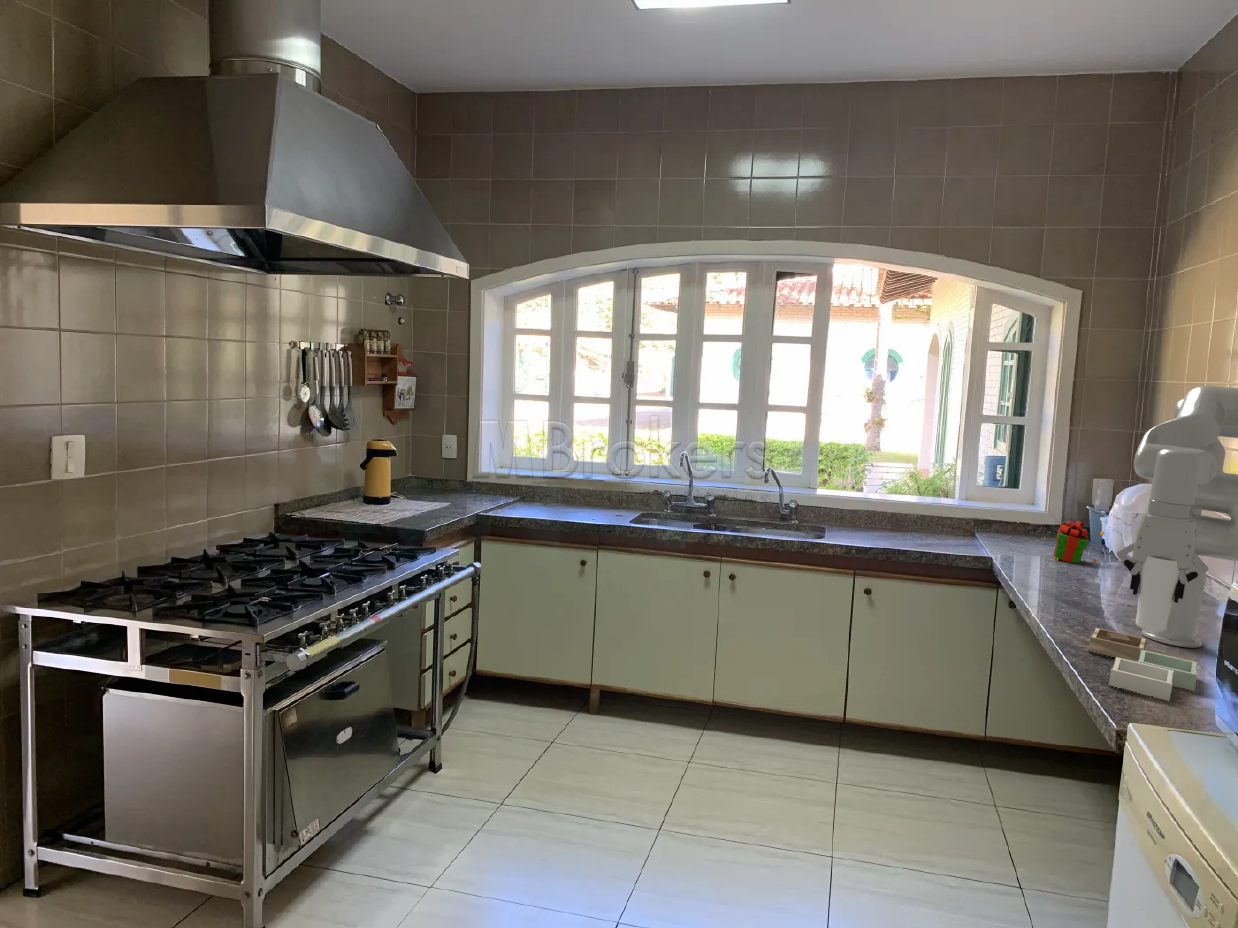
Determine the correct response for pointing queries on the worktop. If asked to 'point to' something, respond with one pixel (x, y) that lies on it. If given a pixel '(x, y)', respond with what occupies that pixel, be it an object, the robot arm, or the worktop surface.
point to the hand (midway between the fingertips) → (1155, 596)
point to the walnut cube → (1118, 638)
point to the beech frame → (1116, 645)
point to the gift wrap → (1071, 542)
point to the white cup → (1156, 593)
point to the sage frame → (1173, 668)
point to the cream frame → (1142, 678)
